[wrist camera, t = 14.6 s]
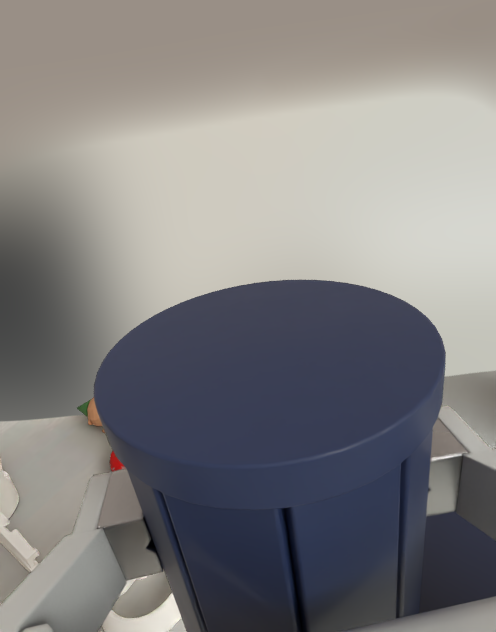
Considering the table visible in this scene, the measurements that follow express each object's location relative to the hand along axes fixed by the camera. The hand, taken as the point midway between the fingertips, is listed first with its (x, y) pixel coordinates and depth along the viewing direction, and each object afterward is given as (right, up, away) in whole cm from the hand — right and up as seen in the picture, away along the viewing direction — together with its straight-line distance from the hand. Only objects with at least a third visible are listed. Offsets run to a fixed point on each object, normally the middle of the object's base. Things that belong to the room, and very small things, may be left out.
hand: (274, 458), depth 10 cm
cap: (+3, -5, +1) cm, 5 cm away
